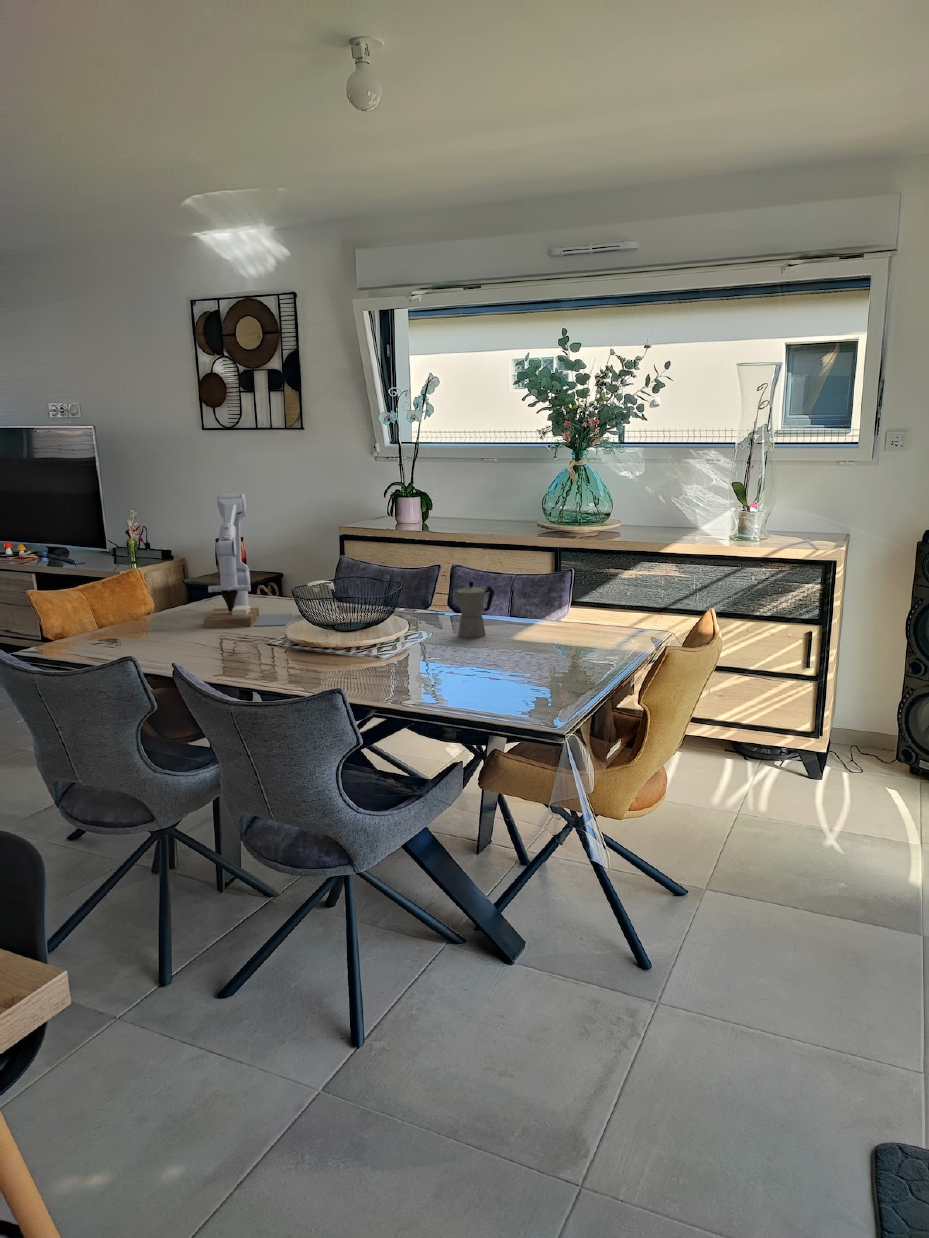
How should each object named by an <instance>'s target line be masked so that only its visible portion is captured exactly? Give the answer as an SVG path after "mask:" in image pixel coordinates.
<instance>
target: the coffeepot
mask: <svg viewBox="0 0 929 1238" xmlns="http://www.w3.org/2000/svg"><path fill="white" fill-rule="evenodd" d="M468 585H469V586H467V587H463V588H460V589H457V590H456V591H455V592H453V595H454V596H455V598H456V599H457V601H458V603H459V608H460V609H459V610H460V611H461V615H460V618H459V619H460V620H459V625H458V626H459V627H458V632H457V633H458V636H459V637H460V638H465V639H477V638H482V637H484V636H486V630H485V629H486V628H485V623H484V618H483V613H482V611H484V612H488V611H490V609H491V605H492V602H493V598H494V595H495V590H494V589H493V588H492V587H491V586H490V585H487V586H481V587H475V586H474V581H472V580H471V581H468ZM486 593H489V594H488V596H487V597H488V598H487V602H486V607H484V604H485V603H484V601H485V596H486Z"/></svg>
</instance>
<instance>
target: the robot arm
mask: <svg viewBox="0 0 929 1238" xmlns="http://www.w3.org/2000/svg"><path fill="white" fill-rule="evenodd" d="M246 500H247V498H246V495H245V494H244V493H226V494H225V493H224V494H223V493H222V494H221V493H219V494H217V496H216V505H217V508H218V509H217V510H218V511H219V514H220V517H221V518H223V520H222V522H223V523H222V524H221V525H220V527H219V533H218V541H216V542H215V543H216V544H215V553H216V556H217V562H218V565H219V566H218V567H219V577H220V585H208V587H207V588H208V589H207V590H208V593H218V592H220V593H221V597H222V598H223V600H224V602H225V605H226V606H227V608H228V610H229V612H232V609H233V608H234V607H235V606H246V605H249V603H250V602H249V592H251V589H252V588H251V573H250V568H249V566H248V565H247V564H245V563H244V562H243V561H242V541H241V539H242V538H241V537H242V536H241V534H242V533H241V532H242V531H241V524H242V523H241V522H242V519H243V518H245V517H246V514H247V501H246ZM250 608H252V606H251V605H250Z"/></svg>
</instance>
